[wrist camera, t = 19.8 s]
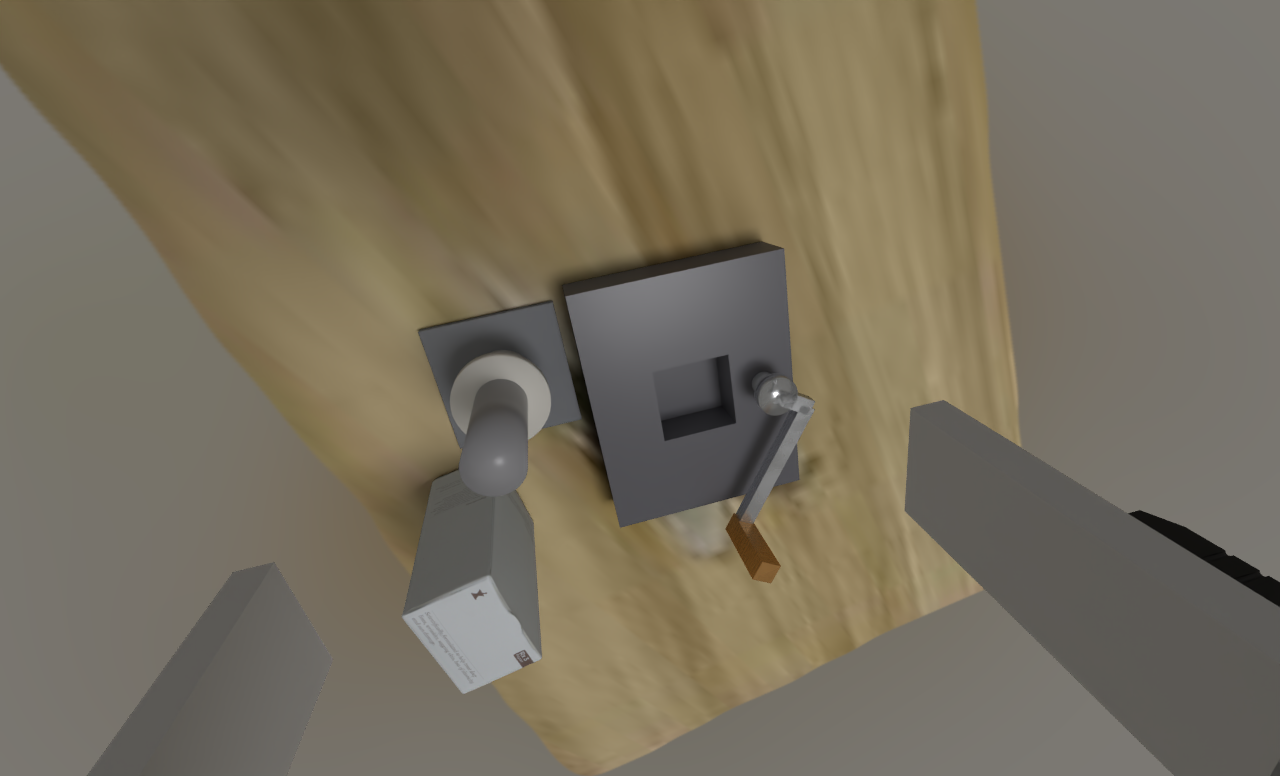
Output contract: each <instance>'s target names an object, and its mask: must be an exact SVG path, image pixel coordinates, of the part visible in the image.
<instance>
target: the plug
mask: <svg viewBox="0 0 1280 776" xmlns="http://www.w3.org/2000/svg"><path fill="white" fill-rule="evenodd" d="M450 409H451V412H452V416H453V418H454V420H455V422H456V424H457V425H458V427H459V428H460V429H461V430H462V431H463V432H464V433H465V434H466V437H465V441H464V445H463V449H462V454H461V458H460V462H459V473H460V477H461V479H462V481H463V482H464V484H465V485H466V486H467V487H468V488H469V489H470V490H472V491H473V492H475V493H477V494H480V495H483V496H489V497H497V496H503V495H506V494H508V493H511V492H512V491H514V490H516V489H517V488H518V487H519V486H520V485H521V484H522V483H523V481H524V479H525V477H526V475H527V470H528V440H529V439H530V438H532V437H533V436H535V435H536V434H537V433H538V432H539V431H540V430H541V429H542V427H543V426H544V424H545V423H546V421H547V419H548V416H549V413H550V409H551V394H550V388H549V385H548V382H547V380H546V377H545V376H544V374H543V373H542V371H541V370H540V369H539V368H538V367H537V366H536V365H535V364H534V363H533V362H531V361H530V360H528V359H526V358H524V357H523V356H522V355H520V354H518V353H516V352H513V351H509V350H497V351H493V352H491V353H488V354H484V355H481V356H479V357H477V358H475V359H473V360H472V361H470V362H469V363H468V364H466V365H465V366H464V367H463V368H462V369H461V371H460V372H459V374H458V375H457V377H456V379H455V381H454V384H453V387H452V390H451V394H450Z"/></svg>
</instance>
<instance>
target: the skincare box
mask: <svg viewBox="0 0 1280 776" xmlns="http://www.w3.org/2000/svg"><path fill="white" fill-rule="evenodd" d="M402 618H403V619H404V620H405V622H406V623H407V625H408V626H409V627H410V628H411V630H412V631H413V632H414V633H415V635H416V636H417V637H418V638H419V640H420V641H421V642H422V643H423V645H424V646H425V647H426V648H427V649H428V651H429V652H430V653H431V655H432V656H433V657H434V659H435V660H436V661H437V662H438V663H439V665H440V666H441V667H442V669H443V670H444V671H445V672H446V674H447V675H448V676H449V677H450V679H451V680H452V681H453V682H454V683H455V685H456V686H457V687H458V689H459V690H460V691H461V692H462V693H463V694H464V693H467V692H469V691H472V690H474V689H476V688H478V687H481V686H483V685H485V684H488V683H490V682H492V681H494V680H496V679H499V678H501V677H503V676H505V675H507V674H510V673H512V672H514V671H516V670H519V669H521V668H523V667H525V666H527V665H529V664H531V663H534V662H536V661H538V660H540V659H541V658H542V651H541V635H540V620H539V604H538V589H537V573H536V557H535V541H534V523H533V521H532V519H531V517H530V515H529V513H528V511H527V510H526V508H525V506H524V504H523V502H522V500H521V498H520V497H519V495H518V493H517V491H516V490H514V491H512V492H511V493H508V494H506V495H503V496H497V497H489V496H483V495H480V494H477V493H475V492H473V491H472V490H470V489H469V488H468V487H467V486H466V485H465V484H464V482H463V481H462V479H461V477H460V473H459V470H457V471H454V472H452V473H449V474H447V475H444V476H442V477H439V478H437V479H435V480H434V481H433V482H432V486H431V491H430V495H429V499H428V504H427V508H426V513H425V517H424V522H423V526H422V530H421V535H420V539H419V544H418V548H417V553H416V558H415V562H414V566H413V571H412V576H411V580H410V585H409V589H408V593H407V599H406V603H405V607H404V611H403V614H402Z"/></svg>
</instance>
